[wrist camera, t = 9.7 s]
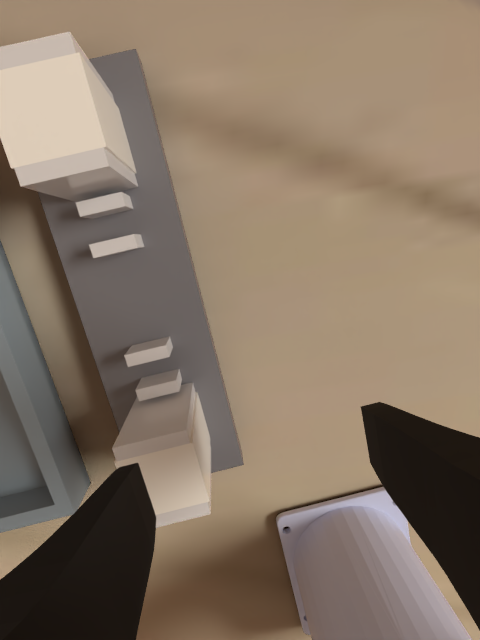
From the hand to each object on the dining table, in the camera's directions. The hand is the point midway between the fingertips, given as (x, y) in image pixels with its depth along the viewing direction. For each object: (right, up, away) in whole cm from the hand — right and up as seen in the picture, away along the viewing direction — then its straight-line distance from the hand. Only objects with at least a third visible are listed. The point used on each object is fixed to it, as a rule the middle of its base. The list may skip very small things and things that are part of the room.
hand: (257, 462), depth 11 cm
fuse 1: (-7, +12, +5) cm, 15 cm away
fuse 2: (-4, -1, +8) cm, 9 cm away
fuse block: (-6, +6, +8) cm, 11 cm away
